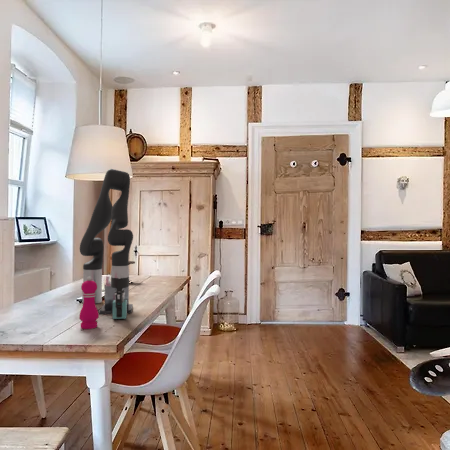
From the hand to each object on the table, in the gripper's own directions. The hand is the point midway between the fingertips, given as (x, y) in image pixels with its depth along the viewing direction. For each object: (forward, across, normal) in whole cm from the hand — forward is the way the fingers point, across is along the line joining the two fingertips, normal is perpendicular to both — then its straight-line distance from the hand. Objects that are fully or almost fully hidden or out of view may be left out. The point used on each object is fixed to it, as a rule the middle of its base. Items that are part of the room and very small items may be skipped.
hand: (119, 315), depth 177 cm
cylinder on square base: (+2, -18, -3) cm, 18 cm away
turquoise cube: (+1, 0, 0) cm, 1 cm away
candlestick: (+2, -109, -4) cm, 109 cm away
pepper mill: (+2, +12, -11) cm, 16 cm away
